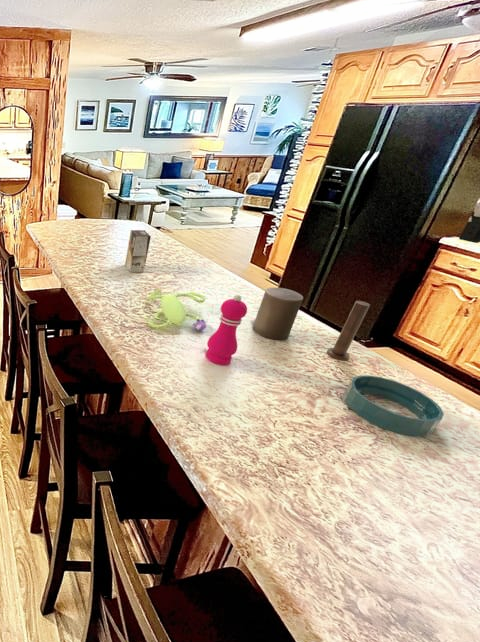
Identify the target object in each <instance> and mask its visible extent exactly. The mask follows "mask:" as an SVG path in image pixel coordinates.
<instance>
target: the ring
mask: <svg viewBox="0 0 480 642" xmlns="http://www.w3.org/2000/svg"><path fill="white" fill-rule="evenodd" d="M365 395H369V396H373V397H374V396H375V397H379V398H382V399H386V400H387V401H390V402H393V403H395V404H398V406H399V405H400V406H401V407H403V408H404V409H407V410H408V411H409V412H411V413H412V414H414V415H415V416H416V417H411V416H407V415H403V414H400V413H397V412H394V411H392V410H389V409H387V408H384V407H382V406H380V405H379V404H377V403H375V402H373V401H372V400H370V399H368V398H367V397H366V396H365ZM341 402H342V403H345V405H347V408H349V409H350V410H351V411H352V412H353V413H354V414H356V415H357V416H358V417H360V418H362V419H364V420H365V421H367V422H368V423H369V424H372V425H374V426H376V427H379V428H381V429H383V430H385V431H388V432H391V433H393V434H397V435H401V436H406V437H410V438H411V437H412V438H425V437H428V436H430V435H432V434H433V432H434V431H435V430H436V428H437V427H438V425H439V424H440V423H441V421H442V419H443V417H444V415H445V413H444V411H443V410H442V407H441V406H440V405H439V404H438V403H437V402H436V401H434V400H433V399H432V398H430V397H429V396H427V395H426V394H425V393H423V392H421V391H419V390H418V389H416V388H413V387H411V386H409V385H407V384H405V383H402V382H398V381H397V380H392V379H389V378H386V377H382V376H375V375H370V374H369V375H367V374H366V375H361V374H360V375H357V376H354V377H353V378H352V379H351V381H350V382H349V384H348V386H347V388H346V390H345V391H344V394H343V395H342V397H341Z"/></svg>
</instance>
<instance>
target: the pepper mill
mask: <svg viewBox="0 0 480 642" xmlns="http://www.w3.org/2000/svg"><path fill="white" fill-rule="evenodd" d="M220 312H221V313H220V317H219V326H218V328H217V330H216V331H215V332H213V334H211V335H210V337H209V338H208V340H207V342H206V345H207V349H206V352H205V358H206V359H207V360H208V361H209V362H211V363H213V364H216V365H219V366H226V365H227V366H228V365H229V364H231V361H232V359H233V356H234V355H235V354H236V353H237V350H238V341H237V329H238V326H240V325H241V324H242V319H243V318H244V317H246V315H247V314H248V306H247V304H246V303H245V302H244V301H242V296H241V295H240V294H235V295H234V296H233V298H228V299H226V300H224V301H223V302H222V304H221V306H220Z"/></svg>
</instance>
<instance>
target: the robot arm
mask: <svg viewBox="0 0 480 642" xmlns="http://www.w3.org/2000/svg"><path fill="white" fill-rule="evenodd" d="M458 239H459V240H461V241H465V242H470V243H474V244H480V197H479V198H478V200H477V202H476V204H475V206H474V209H473V211H472V212H471V216H470V217H469V218H468V220H467V223H466V224H465V226H464V228H463V230H462V231H461V234H460V235H459V237H458Z"/></svg>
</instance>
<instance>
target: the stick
mask: <svg viewBox="0 0 480 642" xmlns="http://www.w3.org/2000/svg"><path fill="white" fill-rule="evenodd" d="M370 307H371V304H370V303H368V302H366V301H363V300H356V301H355V302H354V304H353V306H352V309H351V310H350V312H349V314H348V316H347V319H346V321H345V323H344V325H343V326H342V329H341V331H340V334H339V335H338V338H337V339H336V342H335V343H334V346H333V347H329V348H327V351H326V354H327V355H328V356H329V357H330V358H333V359H336V360H338V361H348V360H349V359H350V358H351V355H350V354H349V353H348V350H349V349H350V346H351V345H352V342H353V341H354V338H355V337H356V334H357V332H358V330H359V328H360V326H361V325H362V322H363V320H364V318H365V316H366V314H367V312H368V310H369V308H370Z"/></svg>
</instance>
